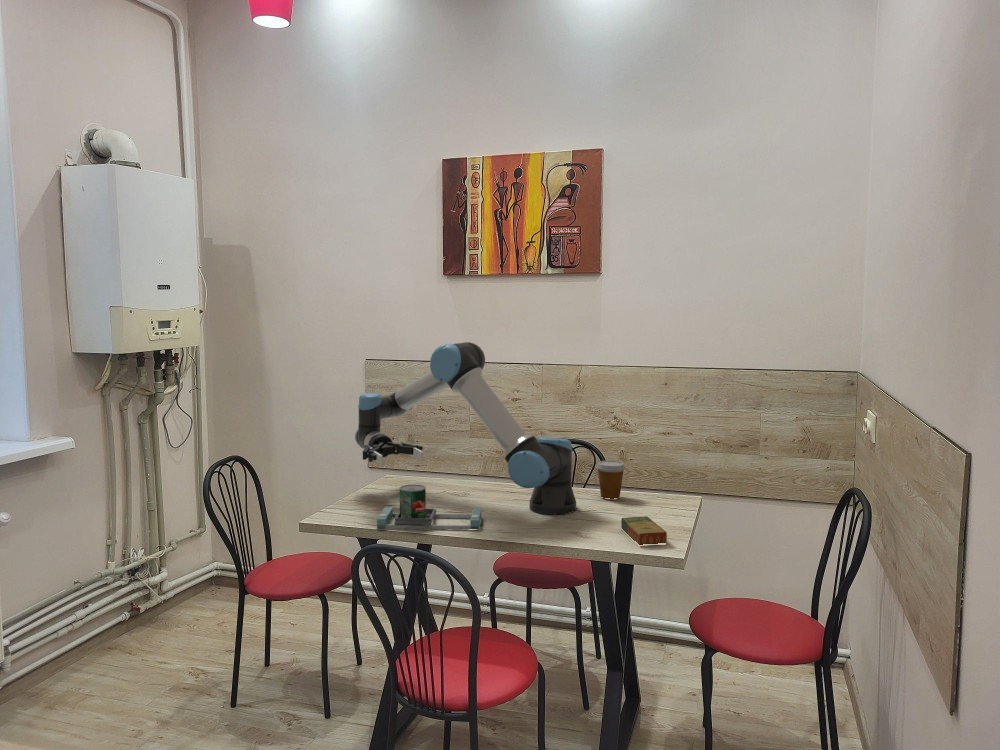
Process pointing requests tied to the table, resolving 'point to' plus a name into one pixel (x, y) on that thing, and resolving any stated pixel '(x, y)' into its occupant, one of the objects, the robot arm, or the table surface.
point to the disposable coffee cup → (610, 478)
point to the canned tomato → (412, 501)
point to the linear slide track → (388, 511)
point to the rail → (400, 526)
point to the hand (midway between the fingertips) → (402, 458)
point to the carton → (643, 530)
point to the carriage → (416, 519)
